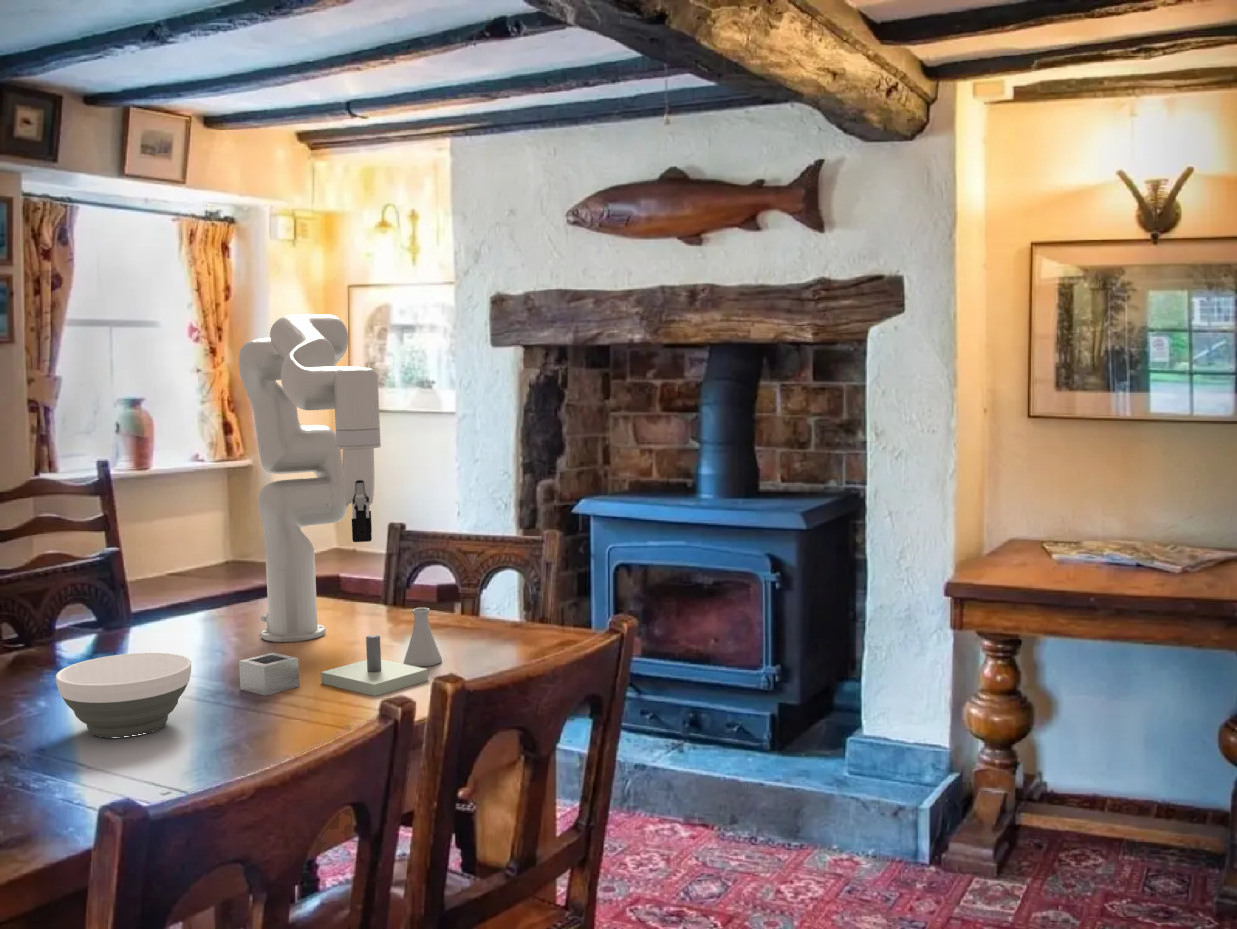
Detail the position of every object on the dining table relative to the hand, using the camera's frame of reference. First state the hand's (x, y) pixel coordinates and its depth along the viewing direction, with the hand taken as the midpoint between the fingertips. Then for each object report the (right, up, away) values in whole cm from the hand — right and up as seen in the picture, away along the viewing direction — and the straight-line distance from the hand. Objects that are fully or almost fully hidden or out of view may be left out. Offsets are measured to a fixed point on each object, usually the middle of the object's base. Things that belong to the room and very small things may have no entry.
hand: (362, 537), depth 223 cm
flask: (+9, -24, +12) cm, 28 cm away
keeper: (+2, -25, 0) cm, 25 cm away
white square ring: (-15, -26, -3) cm, 30 cm away
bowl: (-31, -28, -25) cm, 49 cm away
